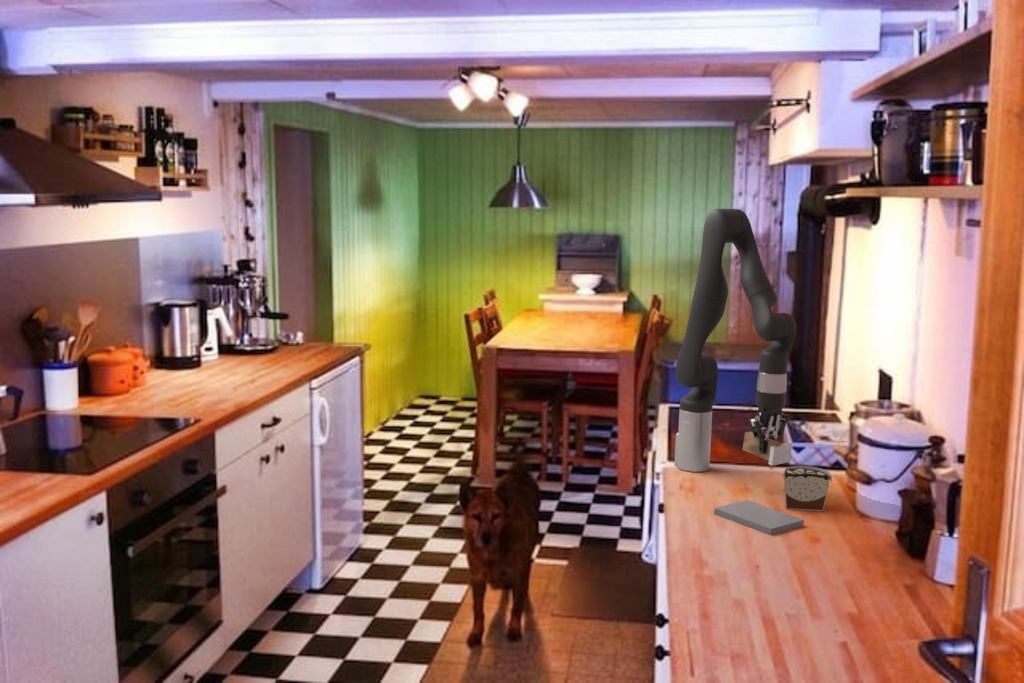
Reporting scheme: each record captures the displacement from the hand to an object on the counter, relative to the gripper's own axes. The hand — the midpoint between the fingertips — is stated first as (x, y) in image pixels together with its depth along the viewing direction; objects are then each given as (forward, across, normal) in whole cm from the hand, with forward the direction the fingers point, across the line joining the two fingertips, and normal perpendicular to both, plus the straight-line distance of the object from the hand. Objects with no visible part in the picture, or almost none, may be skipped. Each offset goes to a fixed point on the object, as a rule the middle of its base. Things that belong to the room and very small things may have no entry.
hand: (766, 452), depth 273 cm
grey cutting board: (+11, +18, +14) cm, 25 cm away
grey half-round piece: (+11, 0, +13) cm, 17 cm away
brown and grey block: (+1, 0, -2) cm, 2 cm away
